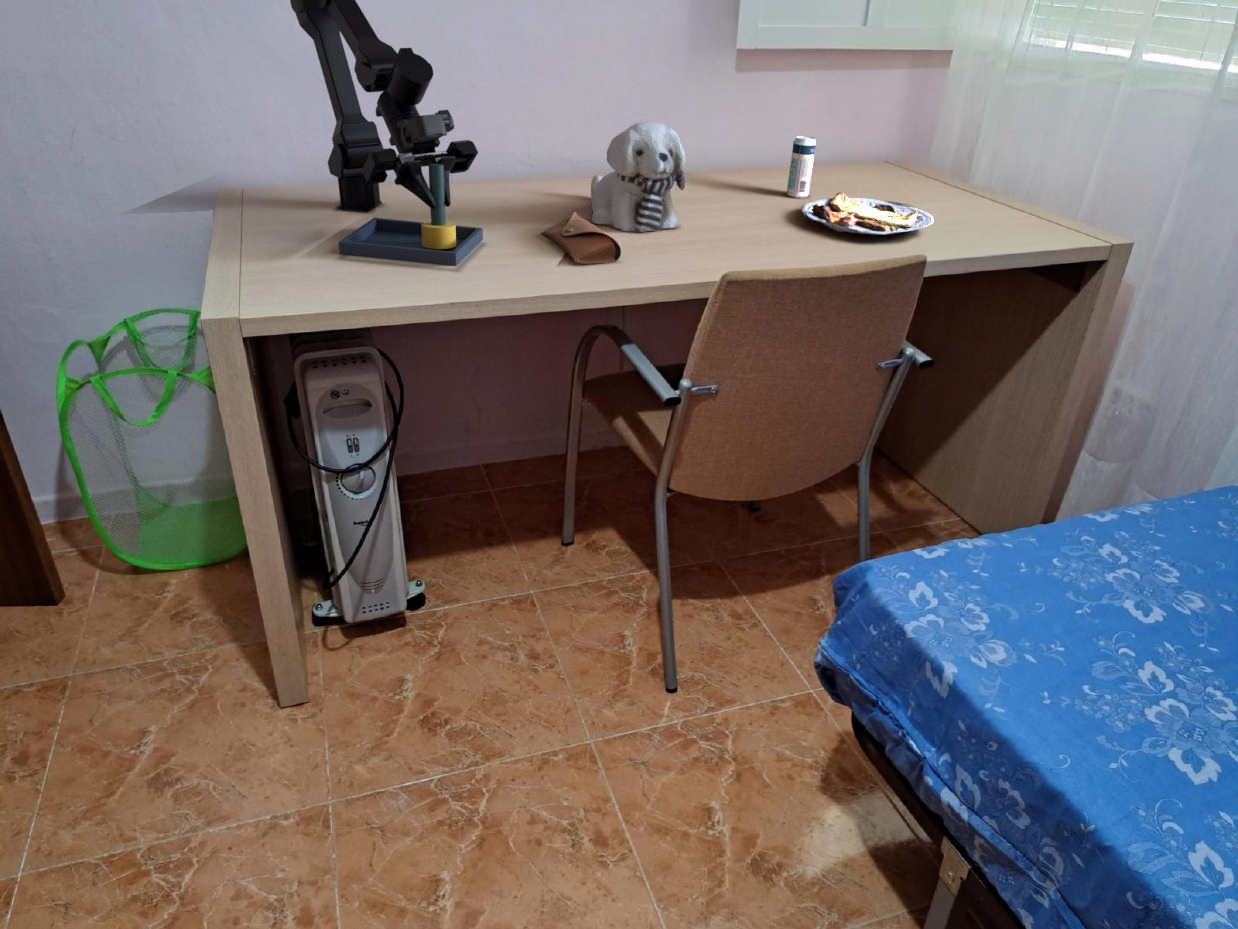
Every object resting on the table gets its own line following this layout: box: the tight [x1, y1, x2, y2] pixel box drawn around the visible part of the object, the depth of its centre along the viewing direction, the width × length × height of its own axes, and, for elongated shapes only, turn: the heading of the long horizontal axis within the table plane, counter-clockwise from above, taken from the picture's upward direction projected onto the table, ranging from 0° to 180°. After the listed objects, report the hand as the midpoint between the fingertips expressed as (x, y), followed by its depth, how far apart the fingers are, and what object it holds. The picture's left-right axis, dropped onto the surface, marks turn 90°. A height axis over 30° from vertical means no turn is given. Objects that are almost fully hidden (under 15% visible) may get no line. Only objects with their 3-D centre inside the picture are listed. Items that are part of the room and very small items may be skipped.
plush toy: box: [590, 121, 687, 233], centre depth 170 cm, size 18×25×18 cm
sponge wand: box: [421, 164, 457, 249], centre depth 148 cm, size 6×6×13 cm
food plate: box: [800, 192, 934, 236], centre depth 177 cm, size 25×23×4 cm
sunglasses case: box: [540, 211, 622, 265], centre depth 156 cm, size 18×7×7 cm
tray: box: [338, 217, 484, 267], centre depth 151 cm, size 20×15×3 cm
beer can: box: [786, 135, 817, 199], centre depth 192 cm, size 5×5×12 cm
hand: (441, 206), depth 148 cm, fingers closed on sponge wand, 2 cm apart
